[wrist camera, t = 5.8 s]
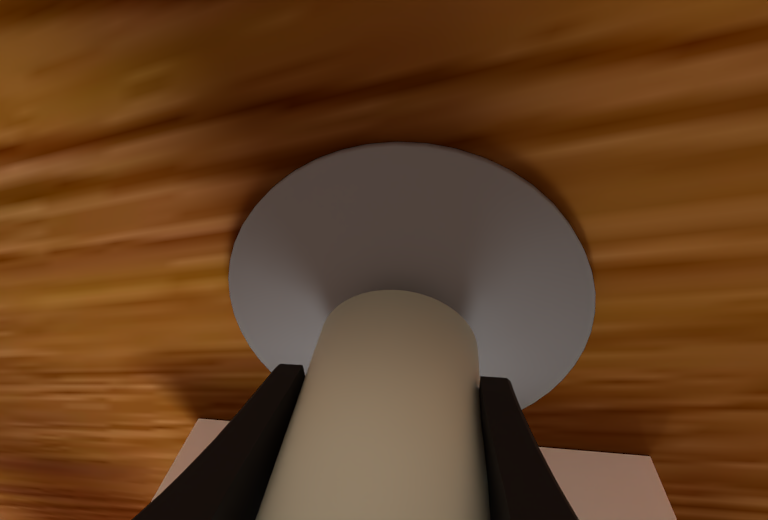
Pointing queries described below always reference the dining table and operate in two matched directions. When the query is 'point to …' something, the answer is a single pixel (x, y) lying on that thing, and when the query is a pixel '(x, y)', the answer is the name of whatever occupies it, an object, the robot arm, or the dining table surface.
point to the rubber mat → (416, 257)
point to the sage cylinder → (385, 418)
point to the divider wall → (570, 467)
